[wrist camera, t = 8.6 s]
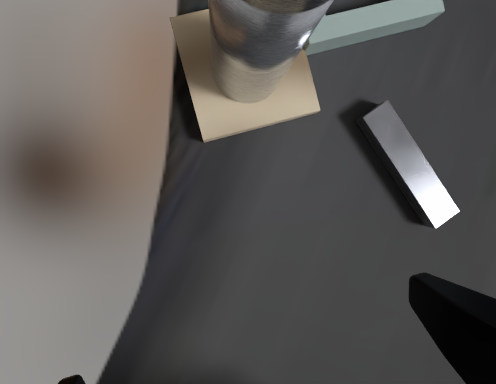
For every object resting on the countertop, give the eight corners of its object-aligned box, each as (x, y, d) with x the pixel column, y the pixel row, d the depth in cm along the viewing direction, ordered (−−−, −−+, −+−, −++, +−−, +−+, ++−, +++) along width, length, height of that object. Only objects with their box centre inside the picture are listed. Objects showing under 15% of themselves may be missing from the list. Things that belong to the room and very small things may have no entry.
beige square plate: (315, 113, 21) (320, 110, 20) (203, 142, 21) (203, 140, 20) (286, -2, 21) (290, -11, 20) (172, 25, 20) (169, 17, 19)
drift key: (446, 209, 22) (459, 211, 21) (424, 225, 22) (435, 228, 21) (378, 104, 22) (387, 100, 20) (354, 120, 21) (363, 117, 20)
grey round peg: (295, 83, 20) (435, -87, 7) (232, 117, 20) (260, 2, 7) (261, 18, 20) (344, -283, 7) (198, 51, 20) (158, -197, 7)
